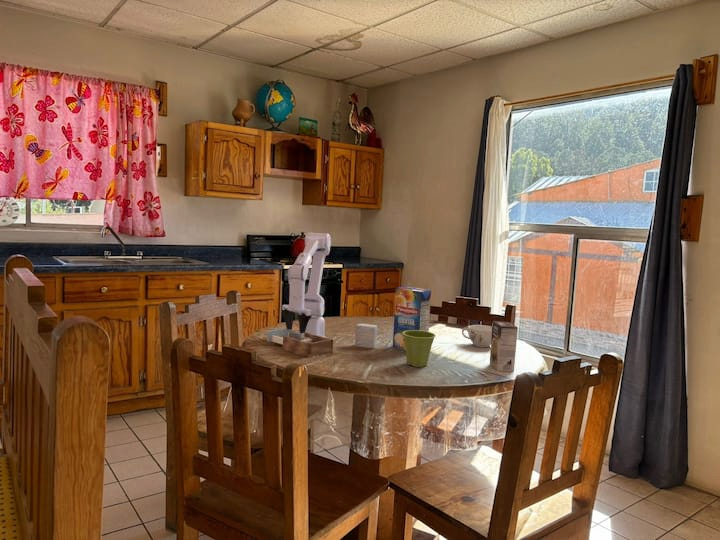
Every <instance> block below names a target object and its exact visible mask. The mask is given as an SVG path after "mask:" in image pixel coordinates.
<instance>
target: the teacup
mask: <svg viewBox="0 0 720 540" xmlns="http://www.w3.org/2000/svg"><path fill="white" fill-rule="evenodd" d="M465 331H466V332H467V333H468V335H466V334H465V333H464V332H465ZM461 334H462V336H463V337H464V338H466V339H468V340H470V341H471V342H472V343H473V345H474V346H475V347H477V348H483V349H484V348H489V347H491V338H492V325H487V324H486V325H483V324H472V325H468V326H467V327H463V328H462V330H461Z"/></svg>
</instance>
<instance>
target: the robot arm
mask: <svg viewBox="0 0 720 540" xmlns="http://www.w3.org/2000/svg"><path fill="white" fill-rule="evenodd" d="M304 244H305V247H304V249H303V252H300V253H299V254H298V256H297V258H296V259H295V262H293V263H294V264H292V265H289V267H288V268H287V278H288V284H289V301H288V302H289V303H288V304H282V309H281V313H280V314H281V315H282V318H283V319H284V323H285V328H287V330H289V329H292V330H293V324H294V319H295V318H294V317H295V313H297V319H298V324H299V325H298V327H299V330H298V332H300V333H302V336H304V333H306V332H307V333H310V334H314V335H318V336H322V337H325V338H327V337H326V335H325V334H326V332H325V330H326V321H325V319H324V317H323V315H324V313H325V299H324V297H322V295H320V290H321V282H322V277H323V271H324V264H325V259H326V256H329V254H330V251H331V244H332V238H331V235H330V234H329V233H319V232H317V233H316V232H307V233H306V234H305V237H304ZM310 267H311V269H310V275H309V268H310ZM308 275H309V280H308V281H309V282H308V287H307V292H306V291H305V290H306V289H305V288H306V280H307V279H308ZM305 292H306V293H305Z"/></svg>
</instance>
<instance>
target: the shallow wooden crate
mask: <svg viewBox="0 0 720 540" xmlns="http://www.w3.org/2000/svg"><path fill="white" fill-rule="evenodd" d="M304 337H308V338H311V339H313V343H308V342H304V341H301V340H297V339H294V338H290V337H287V336H283V345H282V346H281V349H282V350H284V351H287V352H291V353H294V354H296V355H299V354H300V356H303V357H306V356H307V357H306V358H309V357H310V358H314V357H313V356H315V357H318V356H317V355H319V356H323V355H322V354H324V355H327V353H328V354H332V352H334V351H333V350H334V339H332V338H329V337H326V338H325V337H322V336H318V335H314V334H310V333H307V332H306V333H304Z"/></svg>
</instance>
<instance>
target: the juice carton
mask: <svg viewBox="0 0 720 540" xmlns="http://www.w3.org/2000/svg"><path fill="white" fill-rule="evenodd" d="M431 297H432V290H431V289H425V288H419V287H411V286H401V287H395V297H394V315H393V317H394V318H393V332H392V334H393V335H392V348H395V349H397V350H398V349H399V350H403V351H406V347H405V340H404V335H403V332H404V331H408V330H419V331H427V332H430V314H431V313H430V312H431V300H432V298H431Z"/></svg>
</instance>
